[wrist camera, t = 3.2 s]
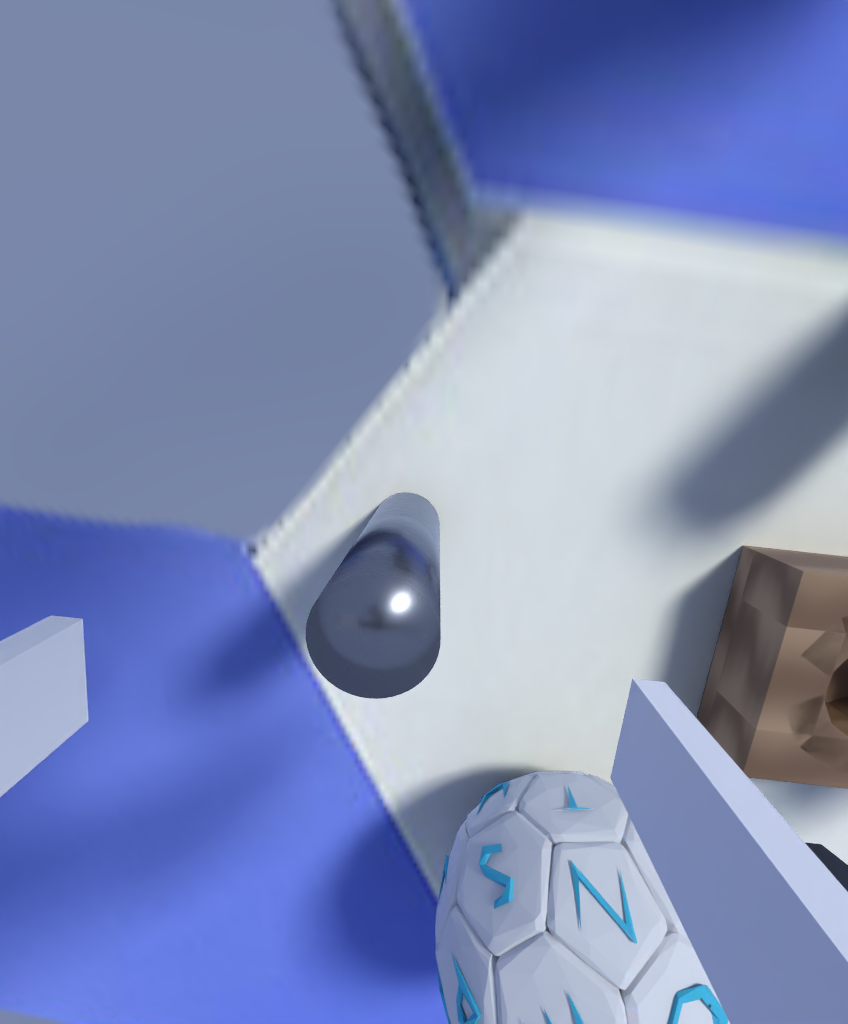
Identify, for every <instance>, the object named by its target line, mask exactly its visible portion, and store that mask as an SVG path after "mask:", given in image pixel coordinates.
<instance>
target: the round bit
mask: <svg viewBox="0 0 848 1024" xmlns="http://www.w3.org/2000/svg"><path fill="white" fill-rule="evenodd" d="M306 642H307V648H308V651H309V654H310V657H311V659H312V661H313V663H314V664H315V666H316V668H317V669H318V670H319V672H320V673H321V674H322V675H323V676H324V677H325V678H326V679H327V680H328V681H329V682H330V683H332V684H333V685H334V686H336V687H337V688H339V689H341V690H343V691H345V692H347V693H349V694H352V695H356V696H359V697H364V698H387V697H393V696H396V695H399V694H402V693H404V692H406V691H409V690H410V689H412V688H413V687H415V686H416V685H418V684H419V683H420V682H421V681H422V680H423V679H424V678H425V677H426V676H427V675H428V674H429V672H430V671H431V669H432V668H433V666H434V664H435V662H436V659H437V657H438V654H439V649H440V530H439V518H438V515H437V512H436V510H435V508H434V507H433V506H432V504H431V503H430V502H429V501H428V500H426V499H425V498H423V497H422V496H419V495H417V494H414V493H398V494H395V495H392V496H390V497H388V498H387V499H385V500H384V501H383V502H382V503H381V504H380V505H379V507H378V508H377V510H376V511H375V513H374V514H373V516H372V517H371V519H370V520H369V522H368V524H367V525H366V527H365V528H364V530H363V531H362V533H361V534H360V536H359V537H358V539H357V540H356V542H355V543H354V545H353V546H352V548H351V549H350V551H349V552H348V554H347V555H346V557H345V558H344V560H343V561H342V563H341V564H340V566H339V567H338V569H337V571H336V572H335V574H334V575H333V577H332V578H331V580H330V581H329V583H328V584H327V586H326V587H325V589H324V590H323V592H322V593H321V595H320V596H319V598H318V599H317V601H316V602H315V604H314V606H313V607H312V609H311V612H310V614H309V617H308V621H307V626H306Z"/></svg>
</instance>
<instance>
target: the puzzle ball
mask: <svg viewBox="0 0 848 1024" xmlns="http://www.w3.org/2000/svg"><path fill="white" fill-rule="evenodd" d="M435 937H436V952H435V955H436V960H437V964H438V978H439V987H440V993H441V997H442V1001H443V1004H444V1008H445V1012H446V1015H447V1019H448V1023H449V1024H730V1022H729V1020H728V1018H727V1016H726V1014H725V1012H724V1010H723V1008H722V1006H721V1004H720V1001H719V999H718V997H717V995H716V993H715V991H714V989H713V987H712V985H711V983H710V981H709V979H708V977H707V975H706V973H705V971H704V969H703V967H702V965H701V962H700V960H699V958H698V956H697V954H696V952H695V950H694V948H693V946H692V944H691V942H690V940H689V938H688V936H687V934H686V932H685V930H684V928H683V926H682V923H681V921H680V919H679V917H678V915H677V913H676V911H675V909H674V907H673V905H672V903H671V901H670V899H669V897H668V895H667V893H666V891H665V889H664V887H663V885H662V882H661V880H660V878H659V876H658V874H657V872H656V870H655V868H654V866H653V864H652V862H651V860H650V858H649V856H648V854H647V852H646V850H645V848H644V846H643V843H642V841H641V839H640V837H639V835H638V833H637V831H636V829H635V827H634V825H633V823H632V821H631V819H630V817H629V815H628V813H627V811H626V809H625V807H624V804H623V802H622V800H621V798H620V796H619V794H618V792H617V790H616V788H615V786H614V785H612V784H610V783H608V782H606V781H604V780H603V779H601V778H599V777H596V776H593V775H590V774H588V775H586V774H584V773H582V772H577V771H541V772H533V773H530V774H527V775H524V776H521V777H518V778H515V779H512V780H510V781H507V782H504V783H501V784H498V785H497V786H495V787H494V788H493V789H491V790H490V791H489V792H488V793H486V794H485V795H484V796H483V797H482V799H481V802H480V803H479V804H478V805H477V806H476V807H475V808H474V809H473V810H472V811H471V812H470V813H469V814H468V816H467V818H466V820H465V821H464V823H463V824H462V825H461V827H460V828H459V830H458V832H457V835H456V838H455V841H454V844H453V847H452V850H451V853H450V856H447V855H446V859H445V865H444V871H443V877H442V883H441V888H440V894H439V899H438V904H437V911H436V926H435Z"/></svg>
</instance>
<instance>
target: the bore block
mask: <svg viewBox="0 0 848 1024" xmlns="http://www.w3.org/2000/svg"><path fill="white" fill-rule="evenodd" d="M697 720H698V721H699V722H700V723H701V724H702V725H703V726H704V728H705V729H706V730H707V731H708V732H709V733H710V735H711V736H712V737H713V738H714V739H715V740H716V741H717V743H718V744H719V745H720V746H721V747H722V748H723V749H724V751H725V752H726V753H727V754H728V755H729V756H730V757H731V759H732V760H733V761H734V762H735V763H736V764H737V765H738V767H739V768H740V769H741V770H742V771H743V772H744V774H745V775H746V776H747V777H749V778H758V779H767V780H776V781H785V782H794V783H803V784H812V785H820V786H829V787H838V788H847V789H848V557H844V556H835V555H826V554H816V553H807V552H798V551H789V550H779V549H770V548H761V547H752V546H743V547H742V551H741V555H740V559H739V562H738V566H737V570H736V574H735V578H734V581H733V585H732V589H731V593H730V596H729V600H728V604H727V608H726V611H725V615H724V619H723V623H722V626H721V630H720V634H719V638H718V641H717V645H716V649H715V653H714V656H713V660H712V664H711V668H710V671H709V675H708V679H707V683H706V686H705V690H704V694H703V698H702V702H701V705H700V709H699V713H698V717H697Z"/></svg>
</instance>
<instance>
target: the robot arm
mask: <svg viewBox="0 0 848 1024" xmlns="http://www.w3.org/2000/svg"><path fill="white" fill-rule="evenodd" d="M86 722H88V703H87V685H86V667H85V650H84V632H83V619H79V618H70V617H61V616H52V615H51V616H49V617H47V618H45V619H43V620H41V621H39V622H37V623H35V624H33V625H31V626H29V627H27V628H25V629H23V630H21V631H19V632H17V633H15V634H13V635H11V636H9V637H7V638H5V639H4V640H2V641H0V797H1V796H2V795H3V794H4V793H6V792H7V791H8V790H9V789H10V788H11V787H13V786H14V785H15V784H16V783H17V782H18V781H19V780H21V779H22V778H23V777H24V776H25V775H26V774H28V773H29V772H30V771H31V770H32V769H33V768H34V767H36V766H37V765H38V764H39V763H40V762H41V761H43V760H44V759H45V758H46V757H47V756H48V755H49V754H51V753H52V752H53V751H54V750H55V749H56V748H58V747H59V746H60V745H61V744H62V743H63V742H64V741H66V740H67V739H68V738H69V737H70V736H71V735H73V734H74V733H75V732H76V731H77V730H78V729H79V728H81V727H82V726H83V725H84V724H85V723H86ZM611 780H612V782H613V784H614V786H615V788H616V790H617V792H618V794H619V796H620V798H621V800H622V802H623V804H624V807H625V809H626V811H627V813H628V815H629V817H630V819H631V821H632V823H633V825H634V827H635V829H636V831H637V833H638V835H639V837H640V839H641V841H642V843H643V846H644V848H645V850H646V852H647V854H648V856H649V858H650V860H651V862H652V864H653V866H654V868H655V870H656V872H657V874H658V876H659V878H660V880H661V882H662V885H663V887H664V889H665V891H666V893H667V895H668V897H669V899H670V901H671V903H672V905H673V907H674V909H675V911H676V913H677V915H678V917H679V919H680V921H681V923H682V926H683V928H684V930H685V932H686V934H687V936H688V938H689V940H690V942H691V944H692V946H693V948H694V950H695V952H696V954H697V956H698V958H699V960H700V962H701V965H702V967H703V969H704V971H705V973H706V975H707V977H708V979H709V981H710V983H711V985H712V987H713V989H714V991H715V993H716V995H717V997H718V999H719V1001H720V1004H721V1006H722V1008H723V1010H724V1012H725V1014H726V1016H727V1018H728V1020H729V1022H730V1024H848V865H847V864H845V863H844V862H843V861H842V860H840V859H839V858H838V857H837V856H835V855H834V854H833V853H831V852H830V851H829V850H828V849H826V848H825V847H824V846H822V845H821V844H813V843H805V842H804V841H803V840H802V839H801V838H800V837H799V835H798V834H797V833H796V832H795V831H794V830H793V829H792V827H791V826H790V825H789V824H788V823H787V822H786V821H785V819H784V818H783V817H782V816H781V815H780V814H779V813H778V811H777V810H776V809H775V808H774V807H773V806H772V804H771V803H770V802H769V801H768V800H767V799H766V798H765V796H764V795H763V794H762V793H761V792H760V791H759V790H758V788H757V787H756V786H755V785H754V784H753V783H752V782H751V780H750V779H749V778H748V777H747V776H746V775H745V774H744V772H743V771H742V770H741V769H740V768H739V767H738V765H737V764H736V763H735V762H734V761H733V760H732V759H731V757H730V756H729V755H728V754H727V753H726V752H725V751H724V749H723V748H722V747H721V746H720V745H719V744H718V743H717V741H716V740H715V739H714V738H713V737H712V736H711V735H710V733H709V732H708V731H707V730H706V729H705V728H704V726H703V725H702V724H701V723H700V722H699V721H698V720H697V718H696V717H695V716H694V715H693V714H692V713H691V712H690V710H689V709H688V708H687V707H686V706H685V705H684V704H683V702H682V701H681V700H680V699H679V698H678V697H677V696H676V694H675V693H674V692H673V691H672V690H671V689H670V687H669V686H668V685H667V684H666V683H665V682H659V681H650V680H641V679H632V683H631V688H630V692H629V697H628V701H627V706H626V710H625V715H624V719H623V724H622V728H621V733H620V737H619V742H618V746H617V751H616V756H615V760H614V765H613V769H612V774H611Z"/></svg>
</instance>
